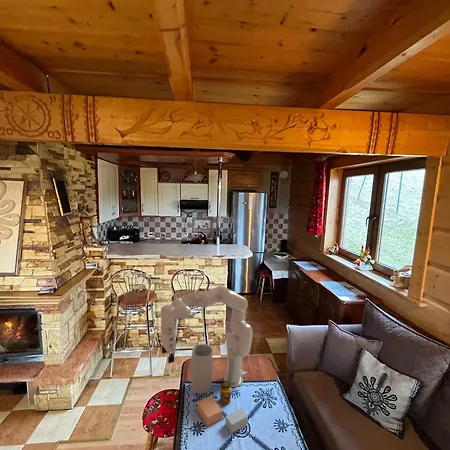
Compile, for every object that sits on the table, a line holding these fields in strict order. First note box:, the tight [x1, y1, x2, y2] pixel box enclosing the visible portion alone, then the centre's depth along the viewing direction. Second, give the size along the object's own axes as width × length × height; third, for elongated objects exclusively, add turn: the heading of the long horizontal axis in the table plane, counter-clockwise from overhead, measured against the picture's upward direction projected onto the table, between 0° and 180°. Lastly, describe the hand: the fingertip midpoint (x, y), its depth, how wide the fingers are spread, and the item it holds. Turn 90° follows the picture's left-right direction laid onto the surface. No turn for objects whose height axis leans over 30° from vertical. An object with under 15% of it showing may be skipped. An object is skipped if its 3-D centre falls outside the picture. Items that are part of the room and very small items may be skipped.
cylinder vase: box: [190, 344, 213, 395], centre depth 166 cm, size 12×12×25 cm
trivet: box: [194, 408, 225, 429], centre depth 147 cm, size 11×14×1 cm
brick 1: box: [196, 395, 223, 426], centre depth 146 cm, size 12×9×5 cm
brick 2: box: [224, 408, 249, 434], centre depth 140 cm, size 10×6×6 cm, turn 123°
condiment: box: [219, 380, 232, 406], centre depth 156 cm, size 7×8×12 cm
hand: (167, 357), depth 146 cm, fingers open, 9 cm apart
